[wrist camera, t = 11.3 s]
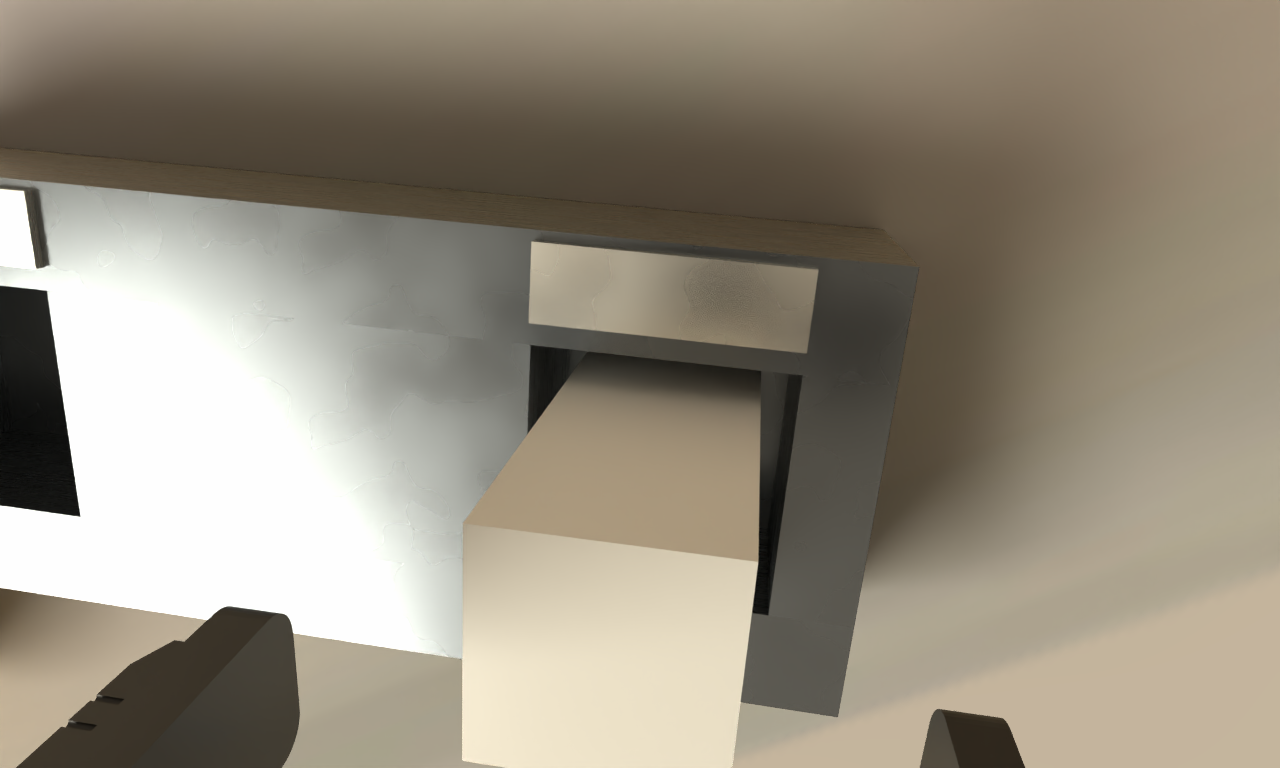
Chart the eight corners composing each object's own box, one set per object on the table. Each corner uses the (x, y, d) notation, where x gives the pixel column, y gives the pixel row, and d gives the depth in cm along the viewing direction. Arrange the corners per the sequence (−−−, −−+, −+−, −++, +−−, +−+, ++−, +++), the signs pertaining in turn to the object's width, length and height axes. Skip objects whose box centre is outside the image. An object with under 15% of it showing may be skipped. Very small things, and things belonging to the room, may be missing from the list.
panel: (-63, 141, 23) (-287, 151, 18) (883, 229, 20) (920, 269, 15) (-1, 479, 26) (-178, 565, 21) (823, 594, 23) (838, 723, 19)
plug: (598, 336, 21) (463, 523, 12) (761, 353, 21) (758, 562, 11) (588, 518, 23) (461, 812, 13) (739, 537, 22) (721, 856, 13)
